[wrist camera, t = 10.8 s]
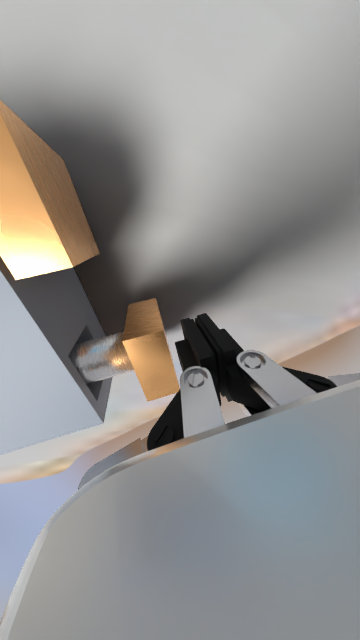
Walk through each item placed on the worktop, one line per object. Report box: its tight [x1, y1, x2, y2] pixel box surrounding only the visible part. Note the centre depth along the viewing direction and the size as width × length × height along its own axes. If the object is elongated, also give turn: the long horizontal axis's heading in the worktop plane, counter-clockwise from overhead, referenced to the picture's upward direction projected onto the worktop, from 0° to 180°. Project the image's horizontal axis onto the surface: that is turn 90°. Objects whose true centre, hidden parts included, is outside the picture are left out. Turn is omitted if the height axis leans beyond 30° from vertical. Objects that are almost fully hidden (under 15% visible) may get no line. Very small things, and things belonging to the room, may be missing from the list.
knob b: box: [68, 298, 180, 401], centre depth 11 cm, size 12×4×5 cm, turn 101°
